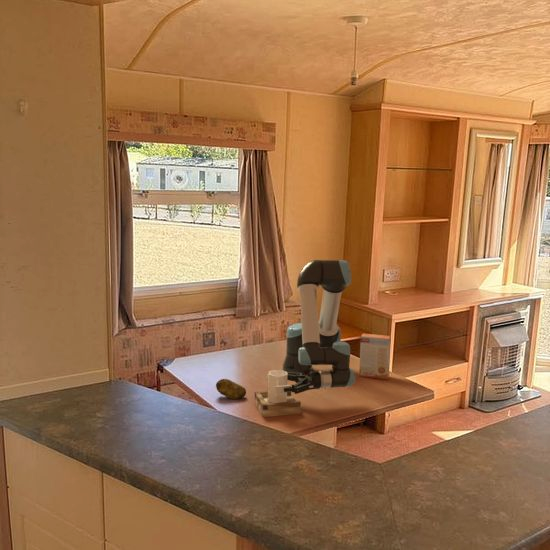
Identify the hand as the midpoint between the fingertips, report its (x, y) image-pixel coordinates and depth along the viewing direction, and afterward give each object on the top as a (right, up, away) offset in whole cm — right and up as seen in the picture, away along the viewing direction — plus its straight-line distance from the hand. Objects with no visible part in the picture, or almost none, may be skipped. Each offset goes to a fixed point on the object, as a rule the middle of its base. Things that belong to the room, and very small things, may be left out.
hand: (271, 383), depth 237 cm
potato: (-18, -9, +13) cm, 24 cm away
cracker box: (+50, -5, +42) cm, 66 cm away
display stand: (+2, -11, +3) cm, 11 cm away
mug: (+2, -8, +2) cm, 9 cm away
